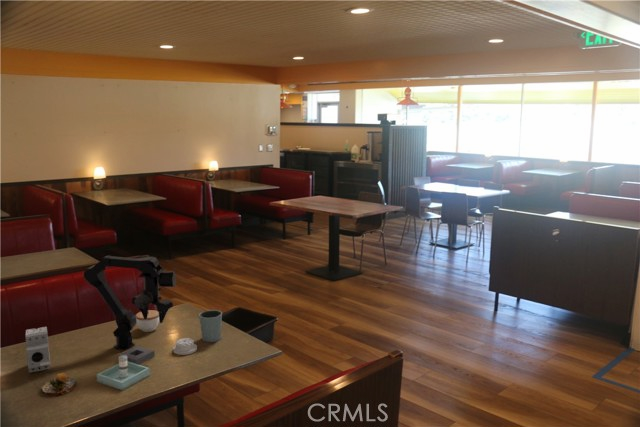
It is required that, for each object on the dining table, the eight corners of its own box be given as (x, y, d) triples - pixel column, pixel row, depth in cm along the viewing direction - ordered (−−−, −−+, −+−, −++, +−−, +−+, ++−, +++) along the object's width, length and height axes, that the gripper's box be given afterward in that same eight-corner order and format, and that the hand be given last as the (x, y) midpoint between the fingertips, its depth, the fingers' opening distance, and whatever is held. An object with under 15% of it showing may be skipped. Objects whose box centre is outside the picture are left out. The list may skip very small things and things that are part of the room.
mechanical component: (169, 354, 229) (190, 356, 227) (168, 344, 228) (190, 346, 226) (179, 344, 238) (200, 346, 236) (179, 335, 238) (200, 337, 236)
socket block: (118, 360, 222) (118, 354, 222) (137, 351, 231) (137, 345, 230) (136, 365, 218) (136, 360, 217) (154, 356, 226) (154, 350, 226)
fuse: (117, 377, 206) (116, 357, 205) (123, 373, 209) (123, 354, 208) (123, 379, 205) (122, 359, 203) (130, 375, 208) (129, 356, 206)
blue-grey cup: (227, 337, 246) (226, 312, 244) (211, 345, 238) (210, 319, 236) (210, 332, 251) (210, 308, 249) (195, 339, 243) (194, 314, 241)
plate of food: (52, 381, 205) (50, 362, 204) (82, 381, 205) (80, 363, 204) (34, 397, 194) (32, 377, 192) (66, 397, 193) (65, 378, 192)
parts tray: (97, 381, 204) (96, 374, 204) (125, 367, 216) (124, 360, 216) (122, 390, 198) (121, 382, 197) (150, 375, 210) (149, 368, 209)
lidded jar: (139, 325, 259) (138, 307, 258) (162, 324, 261) (161, 306, 259) (134, 334, 249) (133, 315, 247) (158, 333, 250) (157, 314, 248)
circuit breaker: (28, 379, 206) (25, 342, 203) (29, 364, 218) (25, 329, 216) (50, 375, 209) (47, 339, 207) (49, 360, 222) (46, 326, 219)
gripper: (121, 288, 228) (123, 323, 231) (153, 295, 219) (155, 331, 222) (141, 281, 238) (143, 314, 240) (172, 287, 229) (174, 322, 232)
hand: (153, 320), depth 233 cm, fingers open, 9 cm apart
